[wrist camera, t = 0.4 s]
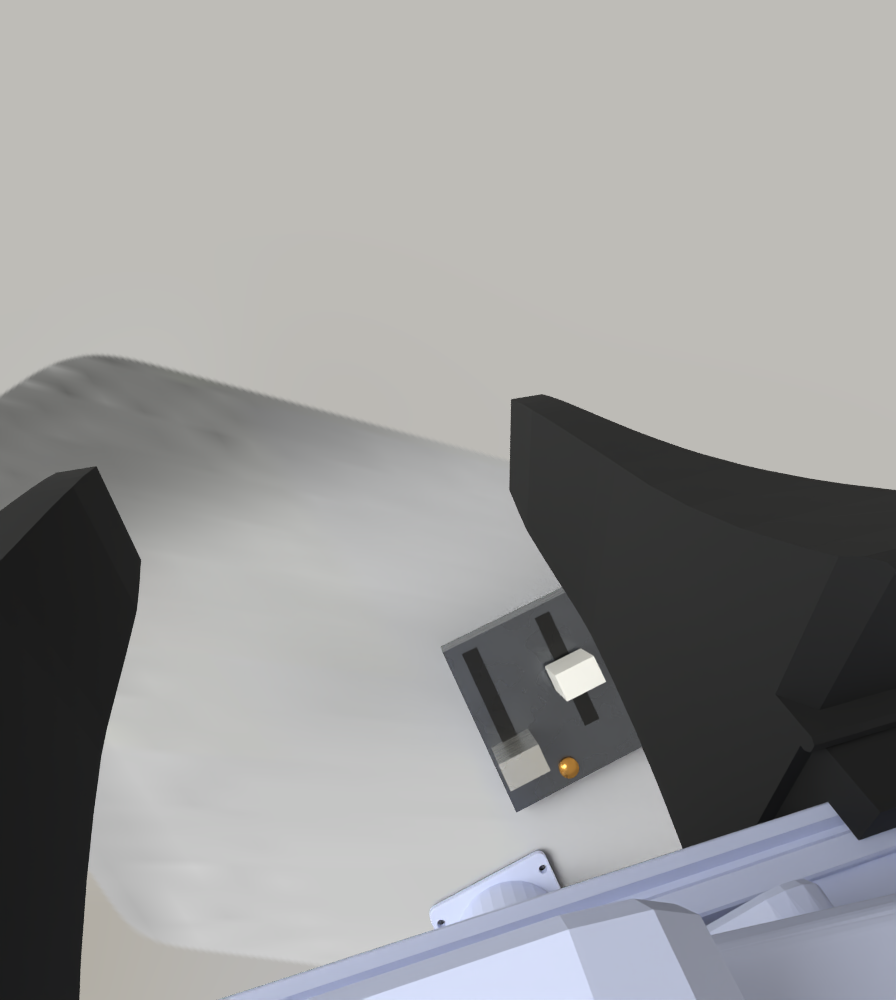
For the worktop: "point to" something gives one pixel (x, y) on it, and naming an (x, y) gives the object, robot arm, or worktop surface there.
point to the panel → (538, 700)
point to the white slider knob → (575, 674)
